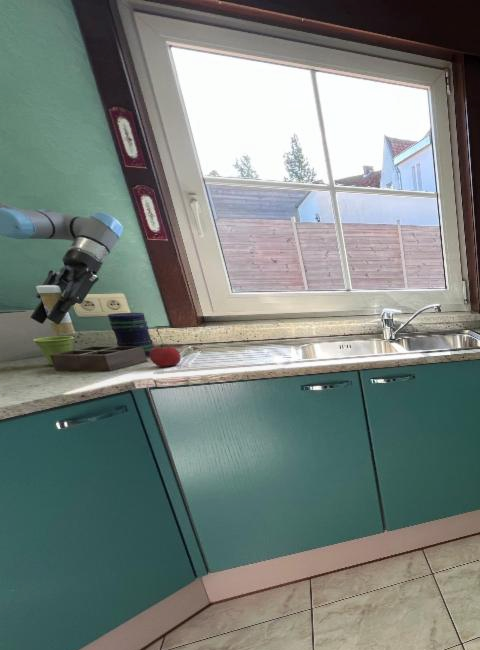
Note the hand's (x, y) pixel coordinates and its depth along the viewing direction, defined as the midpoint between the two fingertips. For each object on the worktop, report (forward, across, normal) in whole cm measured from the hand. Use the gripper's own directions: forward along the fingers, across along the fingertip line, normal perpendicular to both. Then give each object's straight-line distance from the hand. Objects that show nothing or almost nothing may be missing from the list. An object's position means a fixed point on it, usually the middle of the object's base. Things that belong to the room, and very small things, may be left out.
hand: (45, 320), depth 138 cm
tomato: (-5, -7, -31) cm, 32 cm away
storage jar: (-14, +17, -40) cm, 46 cm away
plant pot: (-2, +27, -28) cm, 39 cm away
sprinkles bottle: (0, 0, -6) cm, 6 cm away
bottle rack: (-3, +13, -28) cm, 31 cm away
